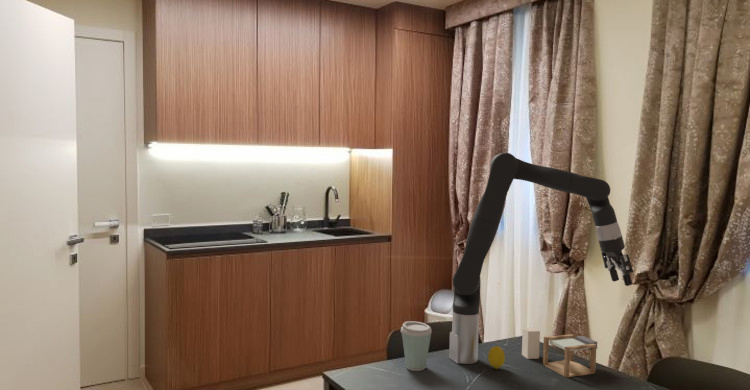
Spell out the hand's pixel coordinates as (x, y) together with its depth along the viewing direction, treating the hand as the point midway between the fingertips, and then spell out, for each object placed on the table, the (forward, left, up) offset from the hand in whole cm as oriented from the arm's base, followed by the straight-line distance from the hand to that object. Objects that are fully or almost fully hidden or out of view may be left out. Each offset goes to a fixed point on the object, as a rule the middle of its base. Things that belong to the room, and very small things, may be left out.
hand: (622, 282), depth 180 cm
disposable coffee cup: (-64, +24, -31) cm, 75 cm away
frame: (-14, +8, -30) cm, 35 cm away
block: (-19, +22, -31) cm, 42 cm away
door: (-12, +8, -23) cm, 27 cm away
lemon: (-38, +15, -31) cm, 52 cm away
